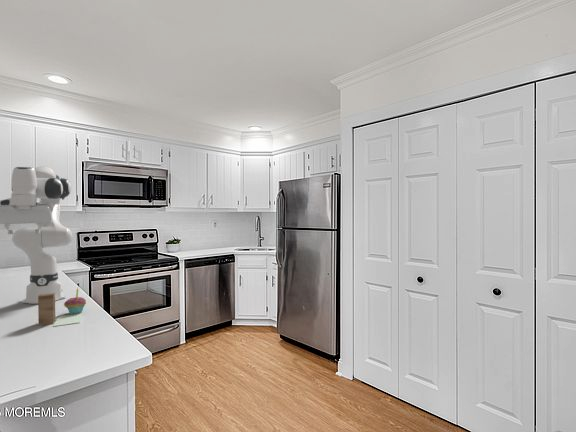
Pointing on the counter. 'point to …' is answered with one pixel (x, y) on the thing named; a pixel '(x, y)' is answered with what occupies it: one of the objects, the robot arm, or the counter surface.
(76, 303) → the cupcake
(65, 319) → the mat
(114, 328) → the counter surface
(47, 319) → the block
